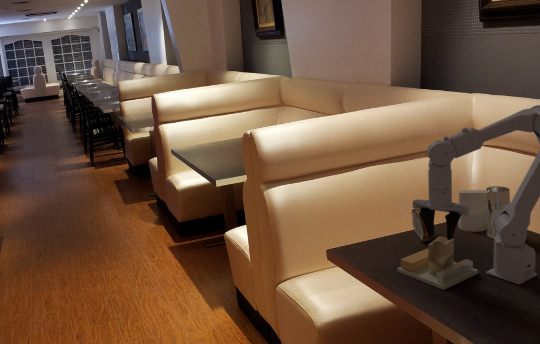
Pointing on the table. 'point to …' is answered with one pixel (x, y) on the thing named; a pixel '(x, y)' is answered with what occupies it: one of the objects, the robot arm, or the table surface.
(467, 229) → the white upright cylinder
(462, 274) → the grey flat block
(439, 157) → the robot arm
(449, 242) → the maple block
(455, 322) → the table surface
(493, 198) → the beer glass
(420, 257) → the block
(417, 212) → the tin
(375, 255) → the table surface
